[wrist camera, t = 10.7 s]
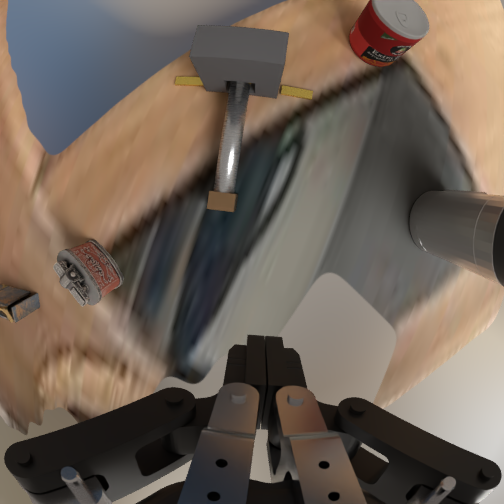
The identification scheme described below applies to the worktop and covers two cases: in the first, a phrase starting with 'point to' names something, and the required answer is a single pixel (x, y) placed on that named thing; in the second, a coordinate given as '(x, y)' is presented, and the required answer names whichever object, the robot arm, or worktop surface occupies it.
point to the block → (239, 58)
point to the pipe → (233, 139)
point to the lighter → (88, 272)
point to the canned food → (387, 30)
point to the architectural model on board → (16, 303)
